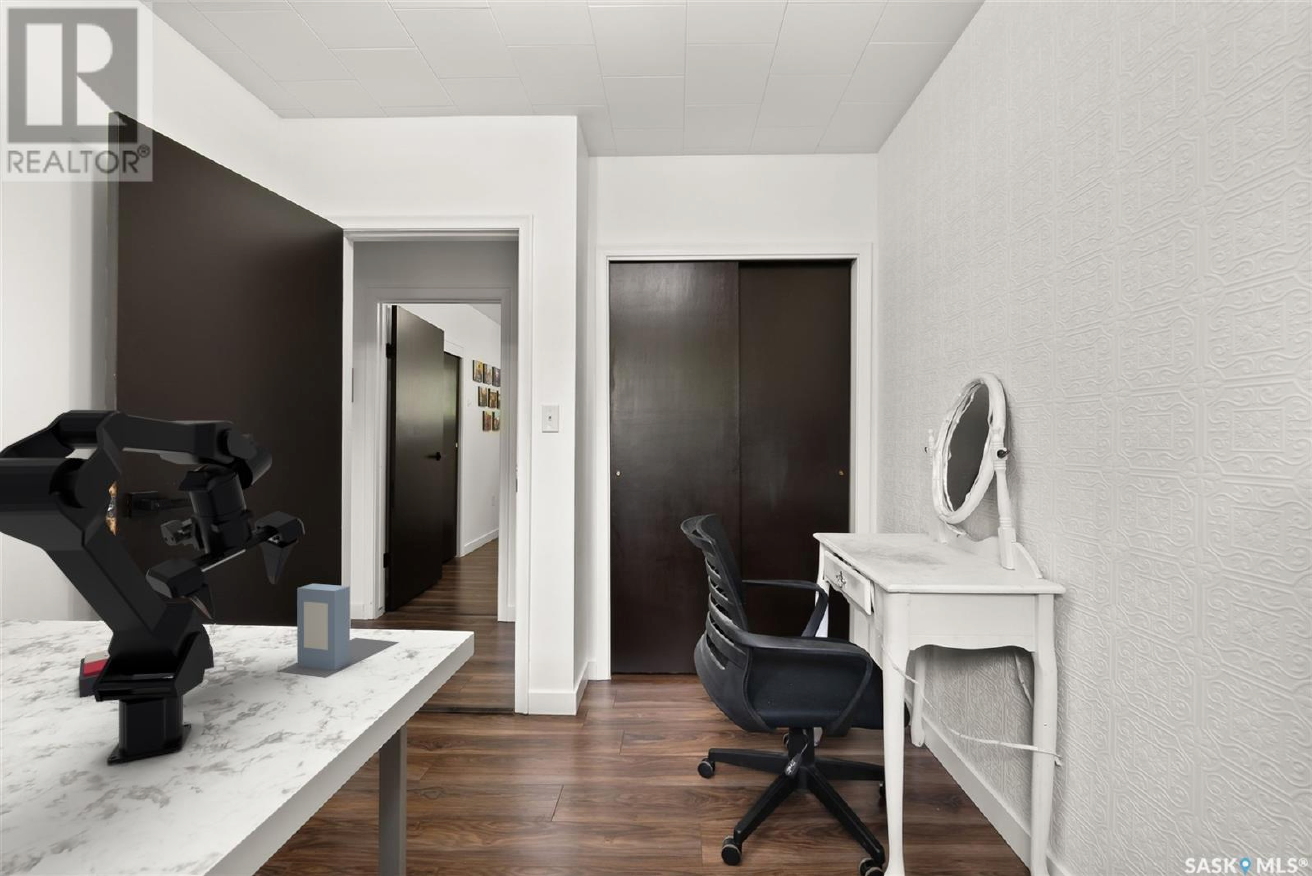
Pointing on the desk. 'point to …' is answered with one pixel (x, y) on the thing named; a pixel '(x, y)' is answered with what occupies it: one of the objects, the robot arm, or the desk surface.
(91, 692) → the calculator
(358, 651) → the mat
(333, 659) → the card box
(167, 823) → the desk surface
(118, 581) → the robot arm
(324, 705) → the desk surface
